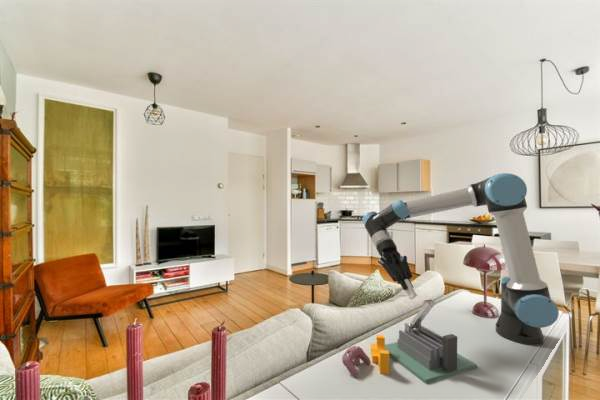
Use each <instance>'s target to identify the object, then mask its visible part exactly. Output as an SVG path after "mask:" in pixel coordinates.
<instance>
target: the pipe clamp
mask: <svg viewBox="0 0 600 400" xmlns="http://www.w3.org/2000/svg"><path fill="white" fill-rule="evenodd" d="M375 337H376V338H375V340H376V341H375V343H370V356H371V360H372V361H371V363H374V364H378V369H379V374H381V375H390V356H389V351H386V350H385V345H386V342H385V341H386V340H385V337H386V336H385V335H382V334H376V335H375Z"/></svg>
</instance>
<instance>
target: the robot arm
mask: <svg viewBox="0 0 600 400" xmlns="http://www.w3.org/2000/svg"><path fill="white" fill-rule="evenodd" d="M527 192H528V187H527V184H526V182H525V180H523V179H522V178H521V177H520V176H518V175H516V174H513V173H505V172H503V173H498V174H494V175H492V176H489V177H488V178H485V179H483V180H481V181H479V182H476V183H472V184H469V185H468V186H467V187H465V188H461V189H457V190H452V191H449V192H445V193H440V194H434V195H431V196H430V195H429V196H426V197H423V198H418V199H414V200H413V199H412V200H409V201H406V202H405V201H403V200H402V199H398V200H395V202H393V203H391V204H390V205H388V206H387V207H385V208H384V209H382V210H381V211H379V212H377V211H376V210H375V211H374V210H373V211H370V212H367V213H365V214H364V215H363V217H362V223H363V225H364V228H365V229H366V231H367V233H368V235H369V238H370V239H371V241H372V243H373V245H374V246H375V248H376V251H377V252H378V255H379V256H380V258H379V259H378V260H377V262H378V264H380V265H381V266H382V268H384V270H385V272H386V273H387V274H388V275H389V277H390V278H391V279H392V281H393V282H396V284H397V285H400V287H401V288H402V290H403V291H405V293H406V295H407V296H408V299H409V300H414V299H415V298H416V297H417V296H418V294H417V292H416V291H415V289H414V285H413V284H412V282H411V279H412V278H413V274H412V271H411V269H410V268H411V267H410V266H409V263H408V257H407V256H406V255H402V254H401V253H400V252H399V251H398V247H397V244H396V243H395V242H394V240H393V238H392V236H391V234H390V233H389V231H388V228H391V226H393V225H394V224H395V225H396V223H398V222H400V221H403V220H407V219H410V218H415V217H416V218H417V217H419V216H420V217H421V216H425V215H431V214H435V213H440V212H445V211H450V210H454V209H455V210H456V209H460V208H464V207H469V206H472V207H475V208H476V207H482V206H483V207H484V206H487V211H488V214H490V215H491V216H493V217H494V220H495V223H496V228H497V231H498V236H499V240H500V244H501V247H502V252H503V253H502V254H503V256H504V261H505V265H506V267H507V268H506V269H507V273H508V276H503V277H502V278H501V282H500V285H501V286H500V287H501V290H500V292H501V293H500V297H501V299H500V314H499V316H498V318H497V321H496V323H495V333H497V335H499V336H501V337H502V338H505V339H507V340H509V341H512V342H515V343H518V344H523V345H524V344H525V345H529V344H539V345H542V344H544V334H543V331H542V328H547V327H551V326H552V325H553V324H554V323H555V322H556V321H557V320H558V318H559V316H560V314H559V312H560V311H559V308H558V306H557V305H556V303H555V301H554V300H553V299H552V298H551V295H550V294H551V293H550V290H549V287H548V284H547V282H545V281H544V280H542V279H541V278H540V274H539V270H538V266H537V262H536V258H535V254H534V248H533V246H532V241H531V239H530V235H529V229H528V226H527V223H526V222H527V221H526V219H525V215H524V212H525V211H526V210H527V208H528V204H527V200H526V196H527Z"/></svg>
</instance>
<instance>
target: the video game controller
mask: <svg viewBox="0 0 600 400" xmlns="http://www.w3.org/2000/svg"><path fill="white" fill-rule="evenodd" d="M341 359H342V360H341V361H342V363H343V365H344V366H345V368H346V369H347V371H348V372H349V373H350V374H351V375H352V376H353V377H354V378H358V377H359V371H358V369H357V367H356V366H360V365H361V362H363V363H364V364H366V365H368V366H369V365H371V363H372V361H371V358H370V357H369V356H368V355H367V354H366V352H365V351H364V350H363V348H361V347H360V346H359V345H353V346H350V347H348V348H347V349H346V351H345V353H344V354H342V357H341Z"/></svg>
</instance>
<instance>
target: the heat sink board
mask: <svg viewBox="0 0 600 400" xmlns="http://www.w3.org/2000/svg"><path fill="white" fill-rule="evenodd" d="M385 350H386V351H389V358H392V359H393V360H394V361H396V362H397V363H398V364H400V365H401V366H402V367H403V368H404V369H406V370H407V371H409V373H411V374H412V375H414V376H415V377H416V378H418V379H419V380H420V381H422V382H423V383H424V384H427V383H431V382H434V381H437V380H441V379H444V378H447V377H451V376H454V375H457V374H460V373H465V372H468V371H470V370H471V371H472V370H474V369H476V368H478V364H477V363H475V362H473V361H472V360H470V359H468V358H467V357H465V356H464V355H461V354H460V353H458V336H457V335H455V334H453V333H449V334H446V335H443V336H442V335H440V334H438V333H436V332H434V331H433V330H431V329H428V328H426V327H425V326H423V325H422V322H421V323H420V324H419V325H418V328H413V329H411V325H410V323H408V322H405V323H404V331H403V330H402V329H401V330H400V329H399V330H398V339H397V341H396V342H392V343H385Z"/></svg>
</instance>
